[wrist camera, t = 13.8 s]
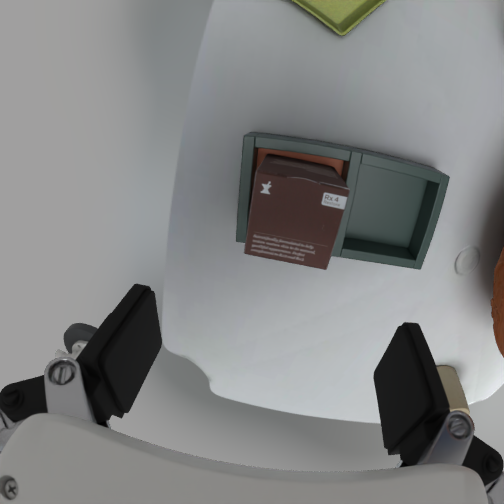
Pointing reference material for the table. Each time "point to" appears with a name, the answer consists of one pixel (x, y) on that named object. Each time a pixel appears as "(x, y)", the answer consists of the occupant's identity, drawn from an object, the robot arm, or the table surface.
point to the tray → (361, 197)
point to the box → (295, 211)
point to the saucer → (340, 12)
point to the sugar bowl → (453, 389)
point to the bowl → (498, 303)
